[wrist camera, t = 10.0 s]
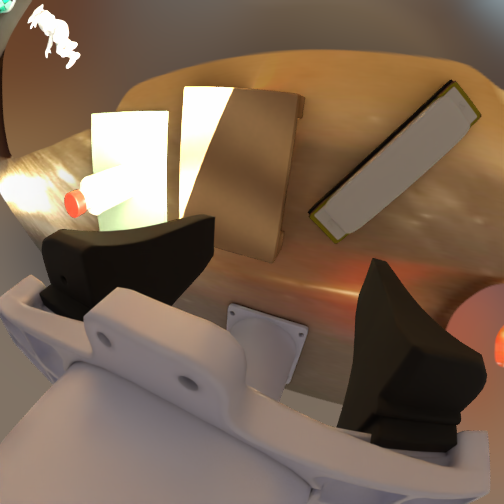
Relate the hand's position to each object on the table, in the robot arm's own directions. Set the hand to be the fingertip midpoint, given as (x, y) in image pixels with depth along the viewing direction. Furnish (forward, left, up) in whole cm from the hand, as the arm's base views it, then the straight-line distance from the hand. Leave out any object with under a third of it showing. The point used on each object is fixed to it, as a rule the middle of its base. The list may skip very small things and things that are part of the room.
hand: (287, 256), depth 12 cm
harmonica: (+4, -5, -10) cm, 12 cm away
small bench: (+1, +6, -9) cm, 11 cm away
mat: (-2, +18, -9) cm, 20 cm away
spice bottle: (-2, +18, -9) cm, 20 cm away
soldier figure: (+16, +30, -10) cm, 35 cm away
